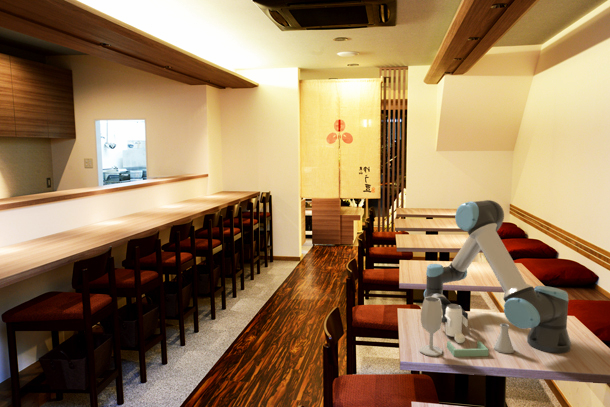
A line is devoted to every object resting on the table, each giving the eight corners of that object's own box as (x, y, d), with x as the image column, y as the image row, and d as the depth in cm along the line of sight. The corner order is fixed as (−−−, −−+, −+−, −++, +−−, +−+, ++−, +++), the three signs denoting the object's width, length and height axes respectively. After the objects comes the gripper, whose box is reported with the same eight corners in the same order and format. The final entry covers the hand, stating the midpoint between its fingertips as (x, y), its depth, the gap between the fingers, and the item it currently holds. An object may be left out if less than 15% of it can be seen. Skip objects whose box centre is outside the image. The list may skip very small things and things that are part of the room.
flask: (510, 346, 175) (511, 321, 174) (516, 354, 168) (518, 328, 167) (491, 345, 176) (491, 321, 175) (497, 353, 169) (498, 328, 168)
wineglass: (415, 352, 171) (416, 299, 168) (425, 345, 177) (426, 293, 175) (436, 359, 165) (438, 304, 163) (446, 351, 172) (447, 298, 169)
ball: (464, 334, 181) (468, 339, 177) (458, 342, 181) (462, 346, 177) (457, 329, 180) (460, 333, 176) (451, 337, 181) (454, 341, 177)
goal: (446, 347, 175) (446, 341, 174) (479, 346, 175) (479, 340, 175) (453, 356, 167) (454, 350, 166) (488, 356, 167) (488, 349, 167)
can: (461, 338, 180) (462, 309, 179) (444, 336, 183) (445, 308, 181) (461, 332, 186) (462, 304, 185) (445, 330, 189) (446, 302, 187)
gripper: (460, 311, 202) (481, 332, 179) (419, 312, 202) (435, 332, 179) (461, 295, 201) (482, 314, 178) (420, 296, 201) (435, 314, 178)
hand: (458, 323), depth 179 cm, fingers closed on can, 6 cm apart
